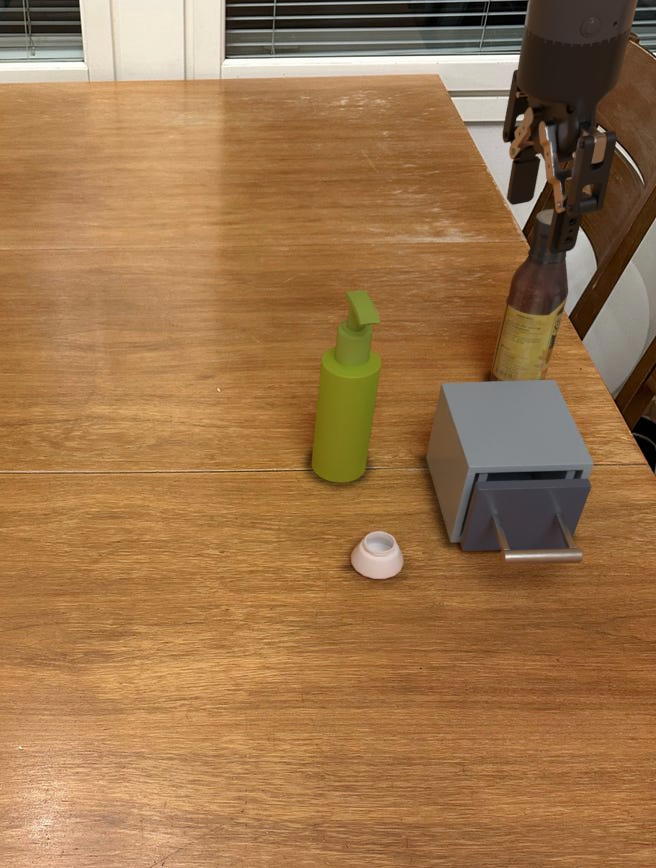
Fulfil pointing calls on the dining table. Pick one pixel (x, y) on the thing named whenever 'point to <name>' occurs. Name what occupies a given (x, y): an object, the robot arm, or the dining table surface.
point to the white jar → (377, 556)
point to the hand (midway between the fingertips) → (538, 225)
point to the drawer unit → (499, 438)
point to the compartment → (526, 516)
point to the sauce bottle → (532, 310)
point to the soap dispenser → (347, 395)
